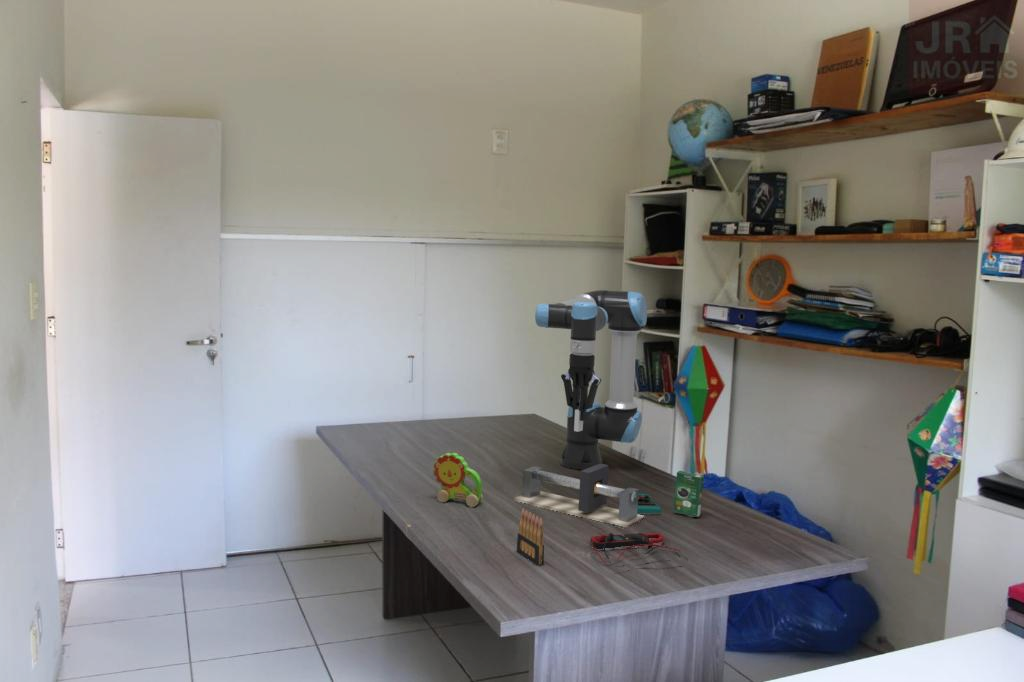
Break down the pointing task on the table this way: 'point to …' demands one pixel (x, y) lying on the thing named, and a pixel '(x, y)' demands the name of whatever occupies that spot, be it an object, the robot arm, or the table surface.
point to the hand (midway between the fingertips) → (578, 430)
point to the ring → (592, 487)
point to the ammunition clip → (531, 538)
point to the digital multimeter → (647, 504)
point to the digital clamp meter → (625, 541)
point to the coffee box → (688, 493)
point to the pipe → (535, 476)
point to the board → (575, 508)
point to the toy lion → (456, 479)
